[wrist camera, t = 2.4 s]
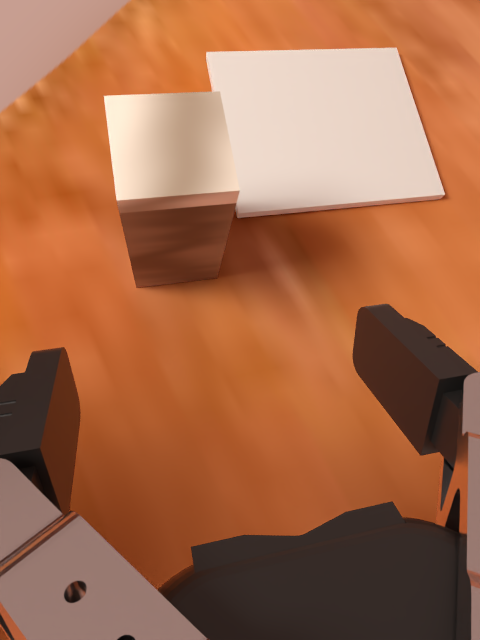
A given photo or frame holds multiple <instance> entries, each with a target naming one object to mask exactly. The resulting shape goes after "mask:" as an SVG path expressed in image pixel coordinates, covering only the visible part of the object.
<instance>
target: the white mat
mask: <svg viewBox="0 0 480 640" xmlns="http://www.w3.org/2000/svg"><path fill="white" fill-rule="evenodd" d="M206 62H207V67H208V72H209V77H210V82H211V87H212V92H218V91H220V94H221V99H222V104H223V109H224V114H225V119H226V124H227V129H228V134H229V139H230V144H231V149H232V154H233V159H234V164H235V169H236V174H237V179H238V184H239V189H240V192H239V196H238V200H237V204H236V207H235V209H236V214H237V218H243V217H254V216H264V215H275V214H286V213H296V212H307V211H318V210H329V209H339V208H350V207H361V206H371V205H382V204H393V203H403V202H414V201H425V200H436V199H441V198H442V197H443V196H444V195H445V193H444V190H443V187H442V184H441V181H440V178H439V175H438V172H437V169H436V166H435V163H434V159H433V156H432V153H431V150H430V147H429V144H428V141H427V138H426V135H425V132H424V129H423V126H422V123H421V120H420V117H419V114H418V111H417V108H416V105H415V102H414V99H413V96H412V93H411V90H410V87H409V84H408V81H407V78H406V75H405V72H404V69H403V66H402V63H401V60H400V57H399V54H398V51H397V48H361V49H318V50H275V51H232V52H207V53H206Z"/></svg>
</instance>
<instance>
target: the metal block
mask: <svg viewBox="0 0 480 640" xmlns="http://www.w3.org/2000/svg"><path fill="white" fill-rule="evenodd" d="M104 101H105V109H106V117H107V125H108V134H109V142H110V150H111V158H112V166H113V174H114V183H115V191H116V199H117V204H118V209H119V213H120V217H121V222H122V226H123V231H124V235H125V239H126V244H127V248H128V253H129V257H130V261H131V266H132V270H133V275H134V279H135V283H136V288H138V287H147V286H155V285H164V284H172V283H181V282H189V281H198V280H206V279H215V278H217V277H218V273H219V270H220V266H221V262H222V258H223V254H224V250H225V246H226V242H227V239H228V235H229V231H230V227H231V223H232V219H233V215H234V211H235V207H236V204H237V200H238V196H239V192H240V189H239V184H238V179H237V174H236V169H235V164H234V159H233V154H232V149H231V144H230V139H229V134H228V129H227V124H226V119H225V114H224V109H223V104H222V99H221V94H220V91H218V92H192V93H166V94H141V95H115V96H104Z"/></svg>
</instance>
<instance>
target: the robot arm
mask: <svg viewBox="0 0 480 640" xmlns="http://www.w3.org/2000/svg"><path fill="white" fill-rule="evenodd" d="M353 362H354V366H355V369H356V372H357V373H358V375H359V376H360V378H361V379H362V380H363V381H364V383H365V384H366V385H367V387H368V388H369V389H370V390H371V392H372V393H373V394H374V396H375V397H376V398H377V400H378V401H379V402H380V403H381V405H382V406H383V407H384V409H385V410H386V411H387V413H388V414H389V415H390V416H391V418H392V419H393V420H394V422H395V423H396V424H397V425H398V427H399V428H400V429H401V431H402V432H403V433H404V435H405V436H406V437H407V438H408V440H409V441H410V442H411V444H412V445H413V446H414V448H415V449H416V450H417V451H418V453H419V454H420V455H426V454H431V453H436V452H440V453H441V454H442V456H443V459H442V462H441V466H440V477H439V490H438V502H437V514H436V524H435V523H432V522H428V521H424V520H420V519H413V518H405V517H402V516H401V515H400V513H399V511H398V510H397V508H396V507H395V505H394V503H393V502H388V503H383V504H379V505H375V506H370V507H366V508H361V509H357V510H352V511H348V512H345V513H343V514H341V515H339V516H338V517H336V518H334V519H332V520H330V521H328V522H326V523H324V524H323V525H321V526H319V527H317V528H315V529H313V530H311V531H309V532H308V533H306V534H303V535H300V536H269V535H242V536H237V537H233V538H229V539H224V540H220V541H215V542H211V543H207V544H202V545H198V546H193V547H191V550H192V557H193V565H191V566H189V567H188V568H186V569H184V570H182V571H181V572H179V573H178V574H176V575H175V576H174V577H172V578H171V579H169V580H168V581H167V582H166V583H165V584H164V585H162V586H161V587H160V588H159V589H158V590H156V589H155V588H154V587H153V586H152V585H151V584H150V583H149V582H148V581H147V580H146V579H145V578H144V577H143V576H142V575H141V574H140V573H139V572H138V571H137V570H136V569H135V568H134V567H133V566H132V565H131V564H130V563H129V562H128V561H126V560H125V559H124V558H123V557H122V556H121V555H120V554H119V553H118V552H117V551H116V550H115V549H114V548H113V547H112V546H111V545H110V544H109V543H108V542H107V541H106V540H105V539H104V538H103V537H102V536H101V535H100V534H99V533H98V532H97V531H96V530H95V529H94V528H93V527H91V526H90V525H89V524H88V523H87V522H86V521H85V520H84V519H83V518H82V517H81V516H80V515H79V514H77V513H76V512H74V511H70V512H69V508H70V500H71V492H72V483H73V475H74V467H75V459H76V450H77V442H78V434H79V426H80V403H79V397H78V393H77V389H76V385H75V381H74V378H73V374H72V370H71V366H70V362H69V358H68V355H67V352H66V350H65V348H64V347H62V348H55V349H48V350H40V351H33V352H32V353H31V356H30V359H29V362H28V365H27V368H26V371H25V373H18V374H12V375H11V376H10V377H9V378H8V379H7V380H6V381H5V382H4V383H3V384H2V385H1V386H0V627H1V628H2V630H3V631H4V633H5V634H6V636H7V637H8V639H9V640H480V372H477V371H476V370H475V369H474V368H473V367H472V366H470V365H469V364H468V363H467V362H466V361H464V360H463V359H462V358H461V357H460V356H459V355H457V354H456V353H455V352H454V351H453V350H452V349H450V348H449V347H448V346H447V347H446V346H445V343H443V342H442V341H441V340H440V339H439V338H436V336H435V335H434V334H433V333H432V332H430V331H429V330H428V329H427V328H426V327H425V326H423V325H421V324H419V323H417V322H415V321H412V320H410V319H408V318H404V317H403V316H402V315H400V314H399V313H398V312H397V311H396V310H395V309H394V308H392V307H391V306H390V305H389V304H381V305H374V306H366V307H361V308H360V309H359V311H358V314H357V322H356V330H355V339H354V347H353Z"/></svg>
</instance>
